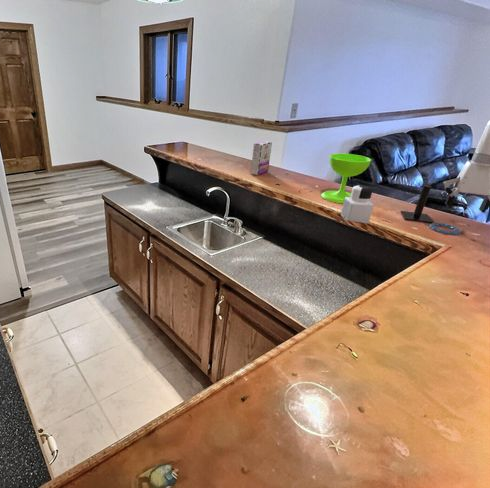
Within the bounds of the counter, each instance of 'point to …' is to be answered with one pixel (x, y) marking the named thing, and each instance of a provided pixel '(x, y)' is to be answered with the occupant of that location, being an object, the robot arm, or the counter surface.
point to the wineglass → (345, 173)
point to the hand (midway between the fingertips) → (464, 208)
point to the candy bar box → (261, 157)
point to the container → (358, 205)
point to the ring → (454, 232)
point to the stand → (419, 208)
